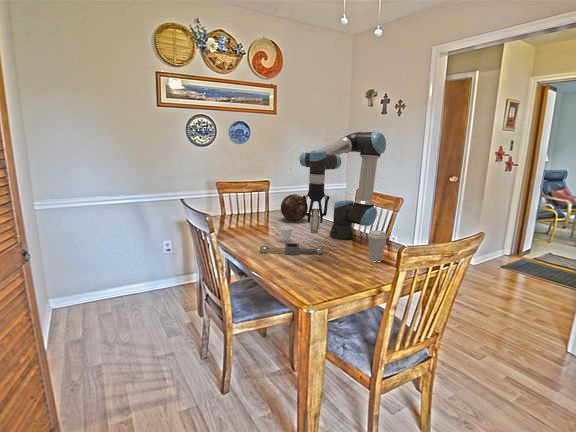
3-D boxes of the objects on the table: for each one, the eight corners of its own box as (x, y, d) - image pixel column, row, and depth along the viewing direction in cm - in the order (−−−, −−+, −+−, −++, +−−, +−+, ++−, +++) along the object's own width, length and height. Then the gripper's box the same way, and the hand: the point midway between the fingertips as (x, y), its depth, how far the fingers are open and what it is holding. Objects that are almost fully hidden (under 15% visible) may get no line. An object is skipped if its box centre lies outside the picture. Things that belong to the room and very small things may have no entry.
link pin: (317, 231, 171) (318, 208, 168) (318, 233, 167) (319, 210, 164) (310, 231, 171) (311, 208, 168) (311, 233, 167) (312, 209, 164)
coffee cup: (374, 265, 165) (377, 235, 162) (361, 258, 174) (364, 230, 170) (388, 262, 170) (391, 233, 166) (375, 256, 178) (378, 229, 175)
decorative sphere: (307, 224, 239) (309, 197, 234) (279, 223, 239) (280, 196, 234) (306, 218, 258) (307, 192, 254) (280, 217, 258) (281, 191, 254)
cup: (292, 242, 196) (293, 229, 195) (275, 243, 194) (276, 229, 193) (290, 239, 203) (290, 226, 201) (274, 239, 201) (274, 226, 199)
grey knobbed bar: (322, 251, 183) (323, 244, 183) (324, 255, 176) (324, 248, 175) (260, 249, 183) (260, 242, 182) (259, 253, 175) (259, 246, 174)
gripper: (332, 182, 167) (330, 227, 172) (299, 181, 167) (297, 226, 172) (334, 184, 160) (332, 231, 165) (300, 183, 159) (298, 230, 165)
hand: (314, 228), depth 169 cm, fingers closed on link pin, 4 cm apart
